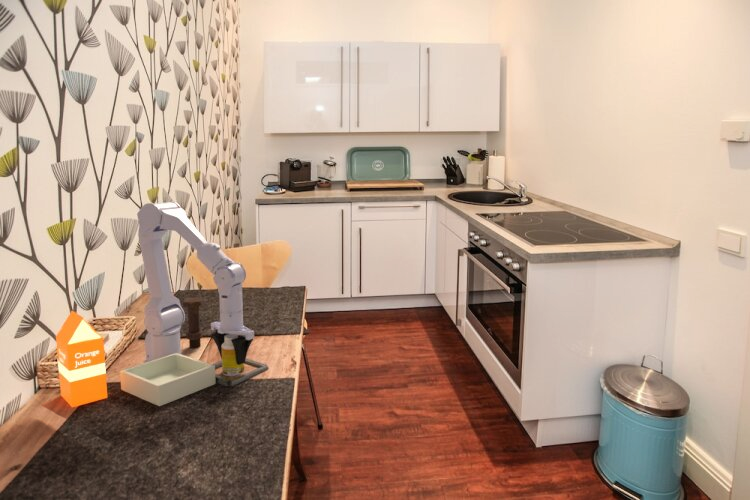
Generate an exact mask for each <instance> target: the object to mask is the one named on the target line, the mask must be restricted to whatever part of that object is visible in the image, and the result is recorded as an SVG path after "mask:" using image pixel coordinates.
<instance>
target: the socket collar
mask: <svg viewBox="0 0 750 500" xmlns="http://www.w3.org/2000/svg"><path fill="white" fill-rule="evenodd" d="M211 364H212V365H215V370H216V369H218V368H220V367H221V368H222V360H219V361H217V362H214V363H211ZM244 364H248V365H251V366H254V367H256V369H254V370H253V369H252V370H250V371H248V372H246V373H242V374H239V375H237V376H235V377H233V378H231V379H230V378H228V377H224V376H222V375H218V374H216V373H215V381H216V384H219V385H222V386H224V387H234V386H236V385H238V384H241V383H243V382H245V381H247V380H248V379H251V378H253V377H255V376H257V375H259V374H261V373H263V372H265V371H267V370H269V369H270V368H269V366H268V365H267V364H266V363H264V362H259V361H257V360H252V359H249V358H246V359H245V363H244Z"/></svg>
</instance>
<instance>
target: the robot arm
mask: <svg viewBox="0 0 750 500" xmlns="http://www.w3.org/2000/svg"><path fill="white" fill-rule="evenodd" d="M136 215H137V220H138V231H137V232H138V233H137V235H138V241H139V245H140V246H139V247H140V253H141V256H142V261H143V266H144V271H145V276H146V282H147V287H148V292H149V298H150V300H149V301H148V302H147V304H146V305H145V307H144V318H143V325H144V328H145V330H146V331H147V333H146V335H145V339H144V348H145V349H144V350H145V360H143V361H142V364H143V363H146V362H149V361H152V360H156V359H159V358H162V357H165V356H168V355H171V354H174V353H179V354H182V349H181V348H182V346H181V333H180V332H181V331H180V330H181V329H182V325H183V324H184V322H185V320H186V314H185V311H184V308H182V305H181V301H180V299H179V298H177V297H176V296H175V295H173V292H172V288H171V287H172V286H171V281H170V277H169V273H168V272H169V270H168V267H167V261H166V255H165V254H166V253H165V249H164V245H163V240H162V239H163V237H164V235H165V234H166V233H167V232H168V231H172V232H173V231H174V232H176V233H177V234H178V235H179V236H180V237H181V238H182V239H184V241H186V242H187V243H188V244H189V245H190V246H191V247H192V248H194V250H196V259H198V260H199V262H201V264H202V265H203V266H205V268H206V269H207V270H208V271H209V272H210V273H211V274H212V276H213V282H214V284H215V285H216V287H217V293H218V294H219V295H218V299H219V300H218V301H219V302H218V303H219V321H214V322H210V330H211V331H214V333H212V334H211V338H212V340H213V342H215V344H216V347H217V349H218V350H217V351H218V352H219V356H220V359H221V360H222V344H223V343H224V337H225V336H226V335H228V334H232V335H236V336H238V338H235V339H232V340H231V341H232V343H233V346H234V349H235V354H236V362H237V364H238V365H240V364H243V363H244V364H246V363H245V359H247V355H248V350H249V348H250V346H251V344H252V342H253V341H254V339H255V331H254V330H251V329H250V328H248V327H246V326H245V325H244V315H243V314H244V310H243V307H244V306H243V283H244V282H245V280H246V277H247V271H246V269H245V268H244V266H243V264H242V263H240V262H237V261H233V260H232V258H229V256H228V255H227V254H226V253H225V252H224V251H223V250H222V249H221V245H219V244H218V243H215V242H209V241H207V240H206V238H205V237H204V236H203V235H202V234H201V232H200V231H199V230H198V229H197V228H196V226H194V224H193V223H192V222H191V220H190V219H189V218H188V217H187V213H186V211H185V209H183V208H182V207H181V205H180V204H179V203H178V202H176V201H172V200H171V201H167V202H165V201H164V202H155V203H151V202H148V203H145V204H144V205H142V207H141V208H140V209H139V210H138V212H137V214H136Z"/></svg>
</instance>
